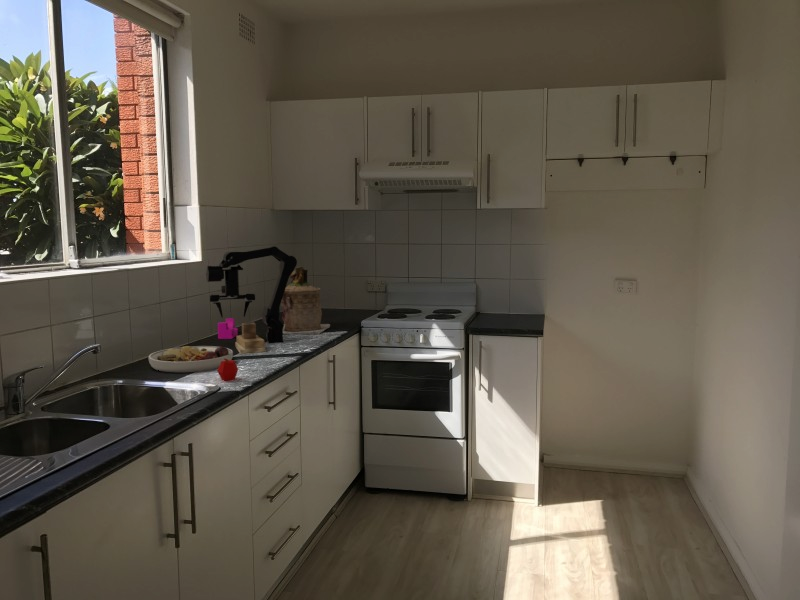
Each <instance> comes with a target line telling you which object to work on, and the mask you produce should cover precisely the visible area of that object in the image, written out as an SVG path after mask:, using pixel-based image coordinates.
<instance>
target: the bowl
mask: <svg viewBox="0 0 800 600" xmlns="http://www.w3.org/2000/svg"><path fill="white" fill-rule="evenodd" d="M233 356H234V351H233V350H232V349H230V348H228V347H224V346H213V345H196V346H189V345H186V346H184V345H183V346H181V347H180V346H179V347H173V348H172V347H171V348H166V349H161V350H158V351H155V352H152V353H150V354H149V355H148V362H149V365H150V366H151V368H153V369H154V370H156V371H158V370H159V372H164V373H165V372H166V373H195V372H196V373H197V372H205V371H211V370H215V369H218V368H219V366H220V363H221V361H226V360H224V358H225V359H228V360H232V359H233ZM232 361H233V360H232Z"/></svg>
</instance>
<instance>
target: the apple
mask: <svg viewBox="0 0 800 600" xmlns="http://www.w3.org/2000/svg"><path fill="white" fill-rule="evenodd" d="M224 360H226V361H221V363H220V366H219V368H217V373H218V375H219V377H220V380H222V381H223V380H224V382H231V381H230V380H233V381H235V379H236V376H237V374H238V372H239V368H238V366H237V364H236V361H235V360H228V359H225V358H224Z"/></svg>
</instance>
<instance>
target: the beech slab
mask: <svg viewBox="0 0 800 600" xmlns="http://www.w3.org/2000/svg"><path fill="white" fill-rule="evenodd" d="M234 346H235V348H236V350H237V351H238V352H239V354H240V355H246V354H248V353H249V354H260V353H261V354H262V353H266V352H267V351H266V347H264V348H253V349H244V348H243V347H242V346H240V345H239V344H238V343H237V341H235V343H234Z"/></svg>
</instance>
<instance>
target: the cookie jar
mask: <svg viewBox="0 0 800 600" xmlns="http://www.w3.org/2000/svg"><path fill="white" fill-rule="evenodd" d="M289 278H290V279H291V280H292V281H291V283H289V284H287V285H286V288H285V291H284V294H283V298H282V301H281V304H280V307H282V308H283V312H282V317H281V319H282V321H283V324H284V327H283V335H287V334H288V335H318V336H319V335H320V334H321V333H323V332H325V330H327V329H329V328H330V327H331V324H330V323H321V321H322V315H323V311H322V305H321V297H320V293H321V292H322V289H321V288H320V287H315V286H314V285H311V284H310V283H309V282H308V269H307V268H305V267H303V266H302V265H301V266H296V267H295V270H294V271H293V272H292V273H291V275H290V276H289Z"/></svg>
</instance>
